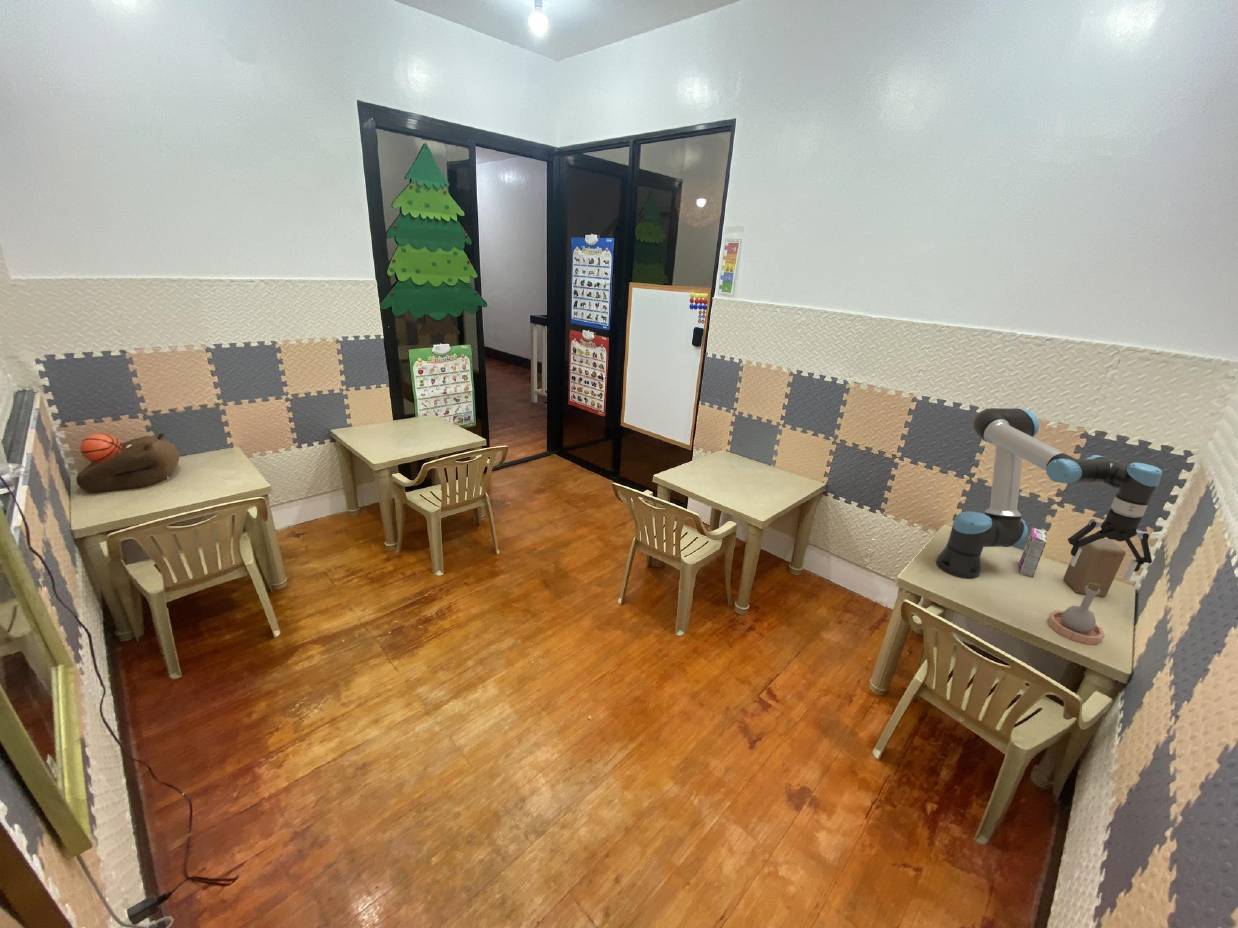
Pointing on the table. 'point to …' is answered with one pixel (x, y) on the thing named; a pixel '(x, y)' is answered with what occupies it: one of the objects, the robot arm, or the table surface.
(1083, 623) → the potion bottle
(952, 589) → the table surface
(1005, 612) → the table surface
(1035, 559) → the candy bar box
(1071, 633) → the saucer
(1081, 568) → the wooden block
